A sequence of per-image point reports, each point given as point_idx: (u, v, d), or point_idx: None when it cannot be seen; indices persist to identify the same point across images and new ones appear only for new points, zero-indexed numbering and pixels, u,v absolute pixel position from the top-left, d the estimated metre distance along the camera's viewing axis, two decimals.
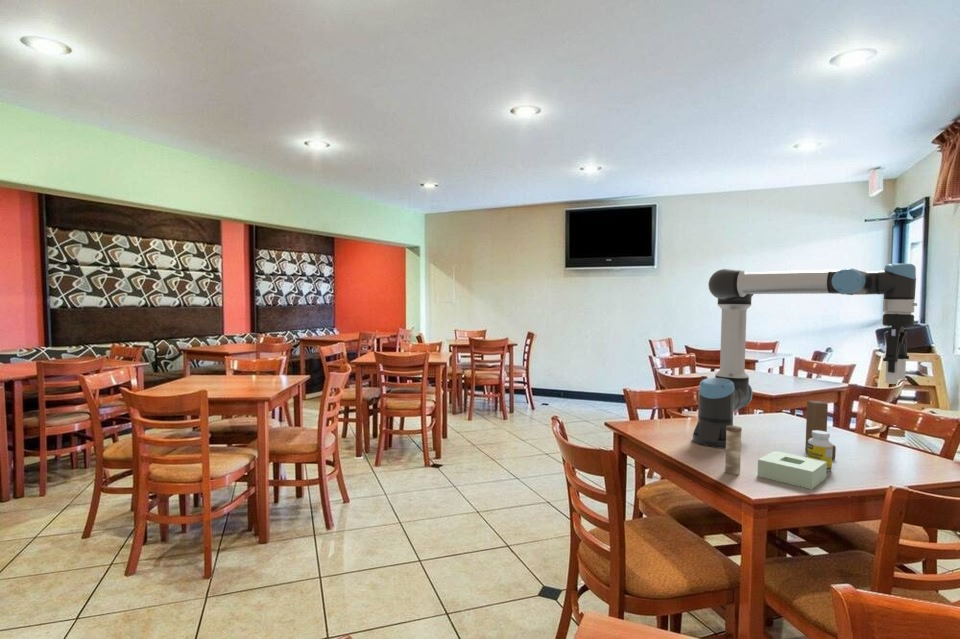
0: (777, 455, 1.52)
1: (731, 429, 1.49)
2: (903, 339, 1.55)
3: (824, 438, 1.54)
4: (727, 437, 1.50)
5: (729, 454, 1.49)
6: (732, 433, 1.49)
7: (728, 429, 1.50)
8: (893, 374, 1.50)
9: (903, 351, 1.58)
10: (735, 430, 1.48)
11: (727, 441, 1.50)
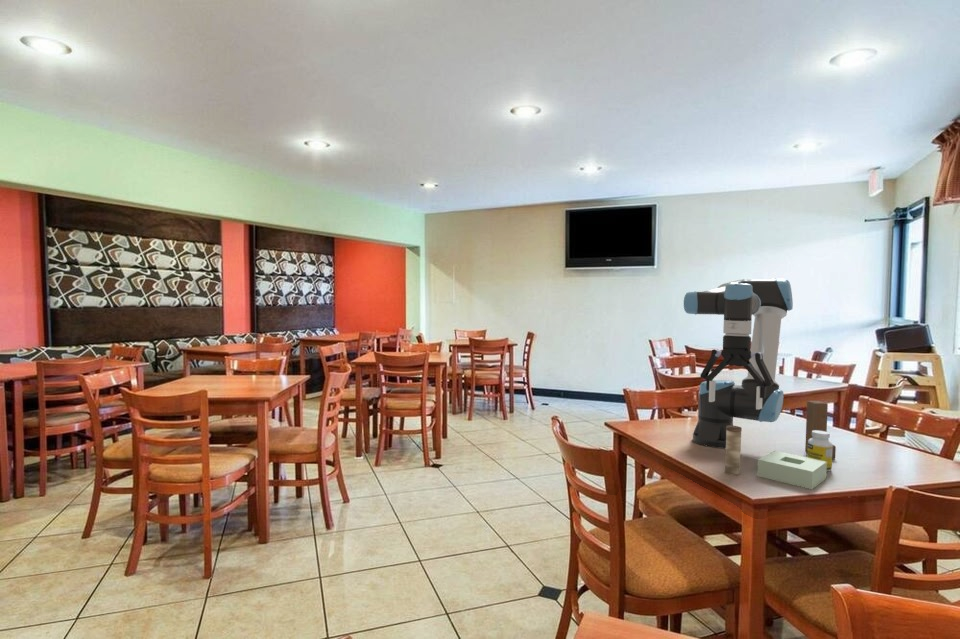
0: (777, 455, 1.52)
1: (731, 429, 1.49)
2: (741, 362, 1.47)
3: (824, 438, 1.54)
4: (727, 437, 1.50)
5: (729, 454, 1.49)
6: (732, 433, 1.49)
7: (728, 429, 1.50)
8: None
9: None
10: (735, 430, 1.48)
11: (727, 441, 1.50)
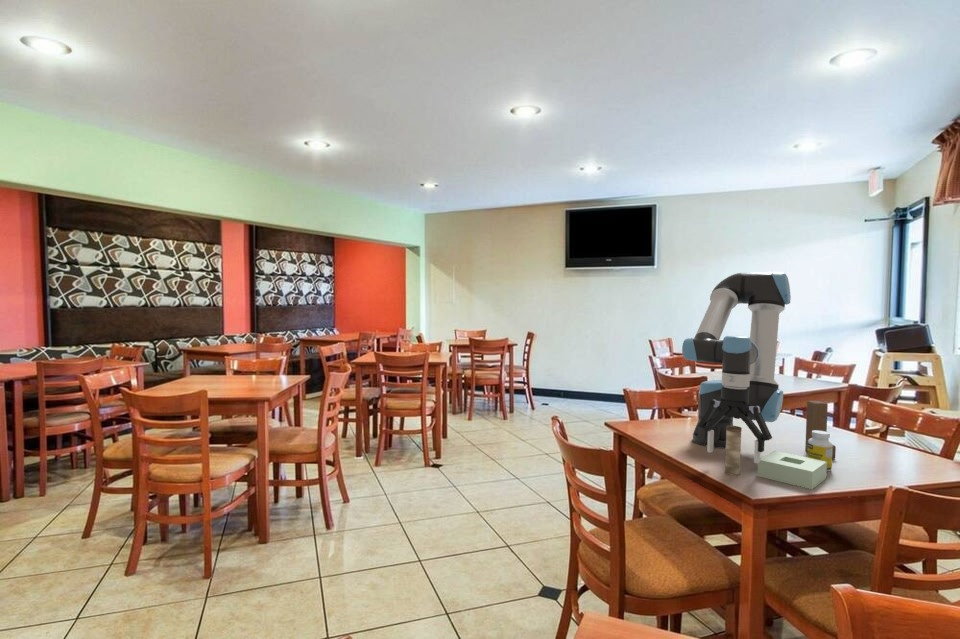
0: (777, 455, 1.52)
1: (731, 429, 1.49)
2: (739, 415, 1.48)
3: (824, 438, 1.54)
4: (727, 437, 1.50)
5: (729, 454, 1.49)
6: (732, 433, 1.49)
7: (728, 429, 1.50)
8: None
9: None
10: (735, 430, 1.48)
11: (727, 441, 1.50)
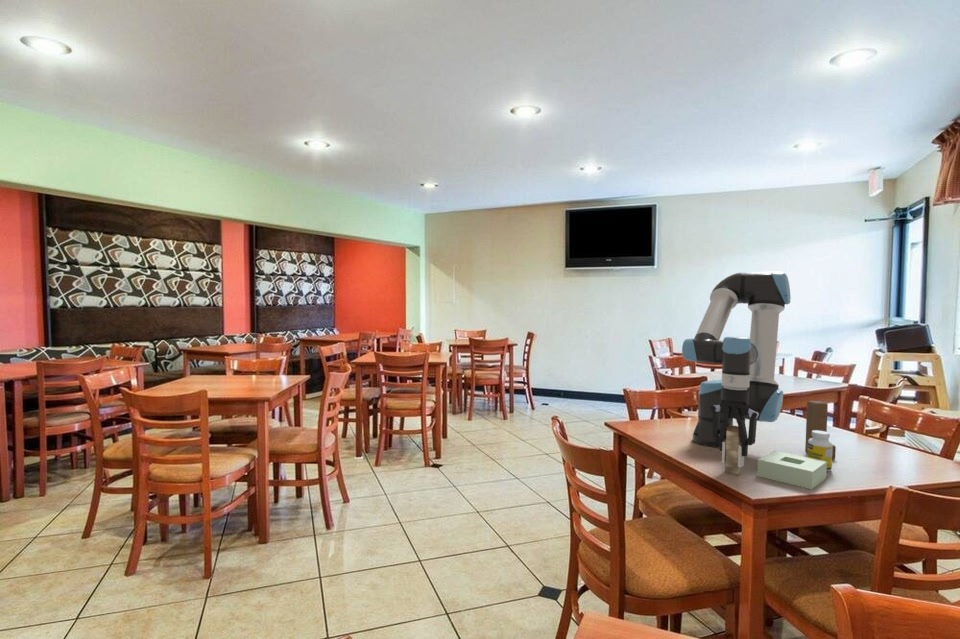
0: (777, 455, 1.52)
1: (731, 429, 1.49)
2: (736, 415, 1.49)
3: (824, 438, 1.54)
4: (727, 437, 1.50)
5: (729, 454, 1.49)
6: (732, 433, 1.49)
7: (728, 429, 1.50)
8: None
9: None
10: (735, 430, 1.48)
11: (727, 441, 1.50)
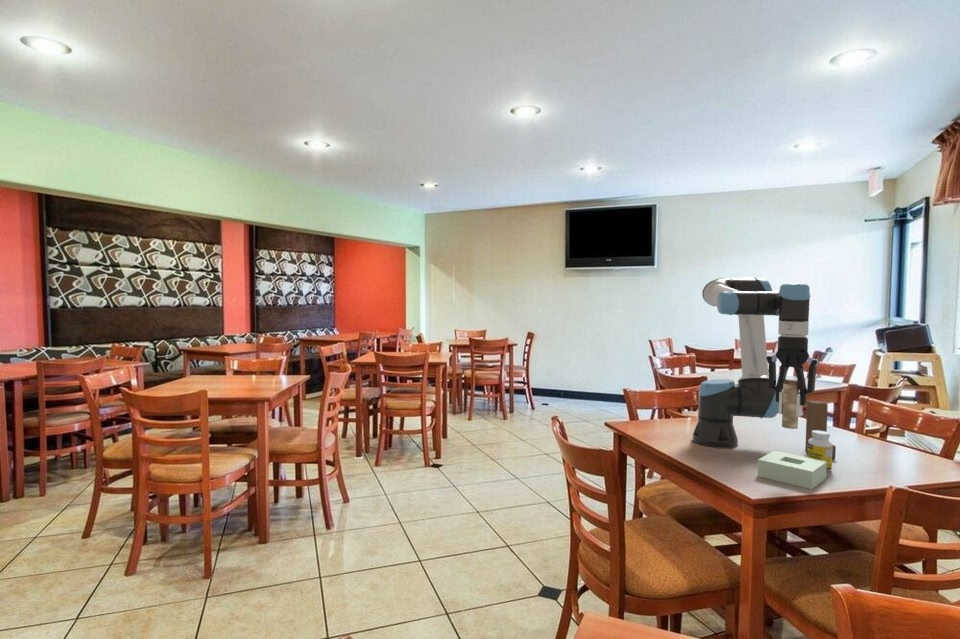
0: (777, 455, 1.52)
1: (789, 382, 1.45)
2: (794, 364, 1.45)
3: (824, 438, 1.54)
4: (784, 390, 1.47)
5: (786, 407, 1.46)
6: (790, 386, 1.45)
7: (785, 382, 1.46)
8: None
9: None
10: (793, 382, 1.45)
11: (784, 394, 1.47)
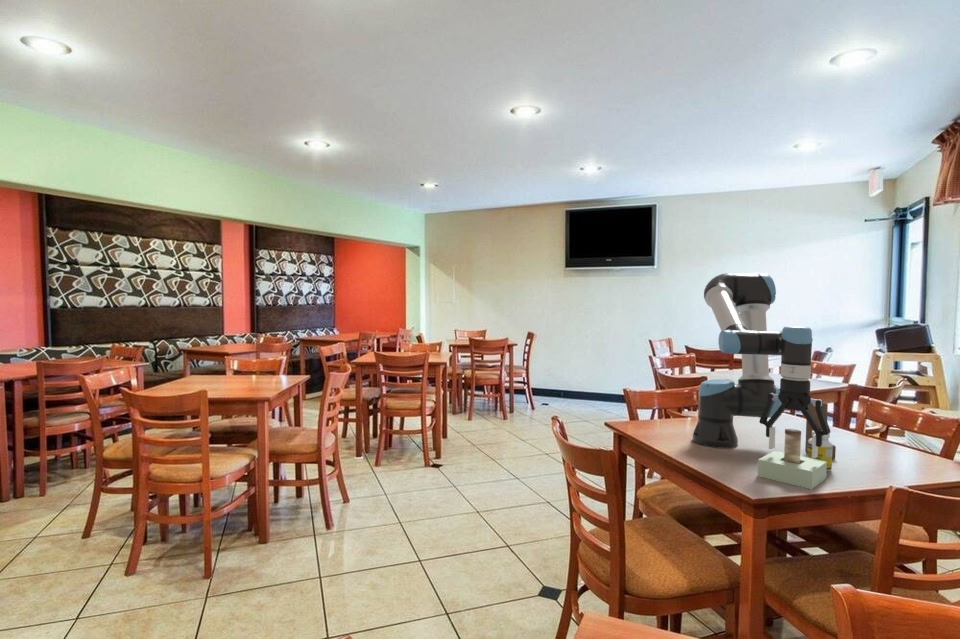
0: (777, 455, 1.52)
1: (791, 433, 1.46)
2: (799, 407, 1.45)
3: (824, 438, 1.54)
4: (786, 441, 1.47)
5: (788, 458, 1.46)
6: (792, 437, 1.46)
7: (787, 432, 1.47)
8: None
9: None
10: (795, 433, 1.45)
11: (786, 445, 1.47)
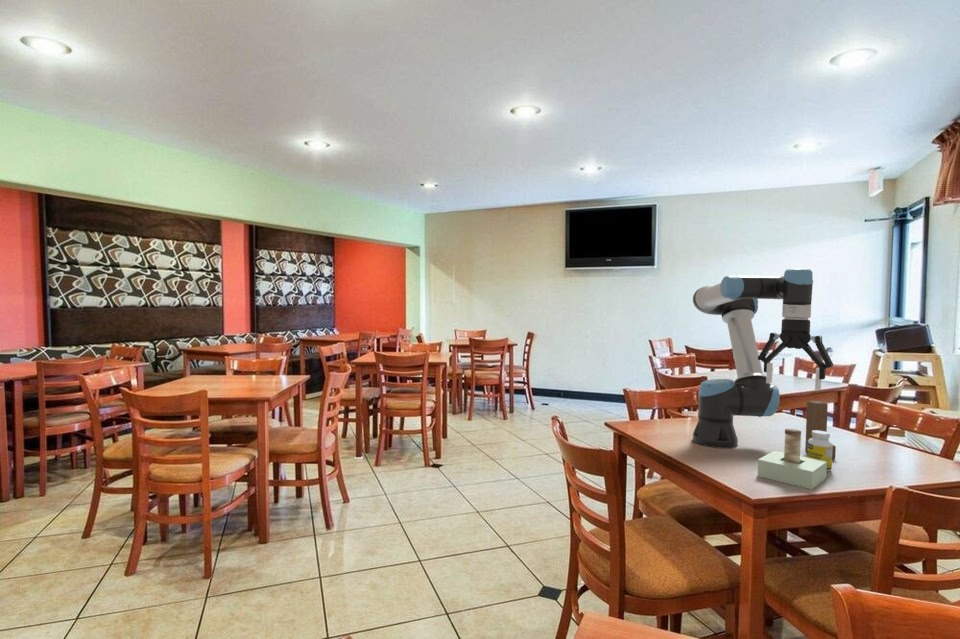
0: (777, 455, 1.52)
1: (791, 433, 1.46)
2: (800, 345, 1.52)
3: (824, 438, 1.54)
4: (786, 441, 1.47)
5: (788, 458, 1.46)
6: (792, 437, 1.46)
7: (787, 432, 1.47)
8: None
9: None
10: (795, 433, 1.45)
11: (786, 445, 1.47)
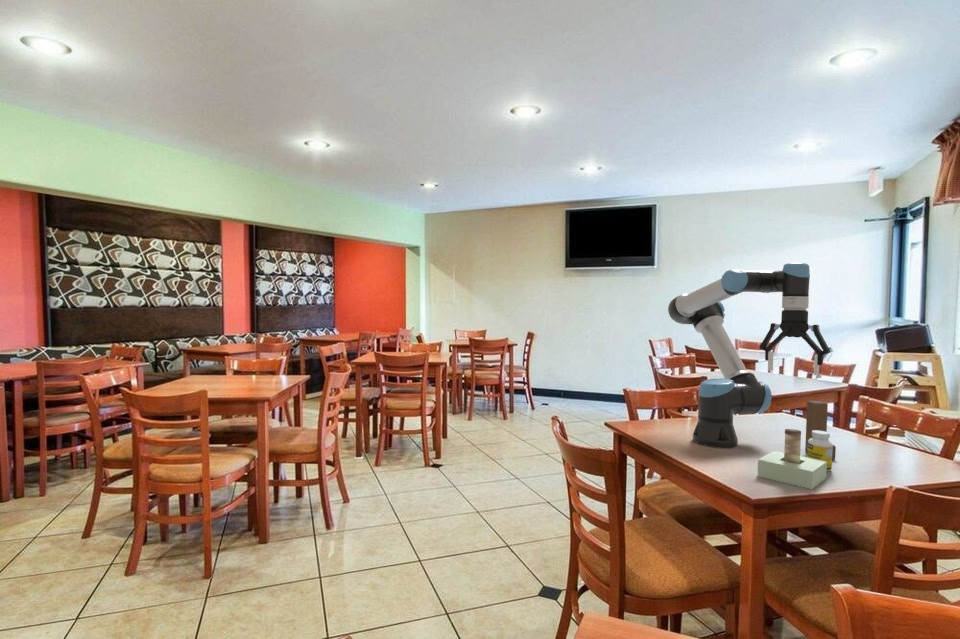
0: (777, 455, 1.52)
1: (791, 433, 1.46)
2: (799, 334, 1.64)
3: (824, 438, 1.54)
4: (786, 441, 1.47)
5: (788, 458, 1.46)
6: (792, 437, 1.46)
7: (787, 432, 1.47)
8: None
9: None
10: (795, 433, 1.45)
11: (786, 445, 1.47)
